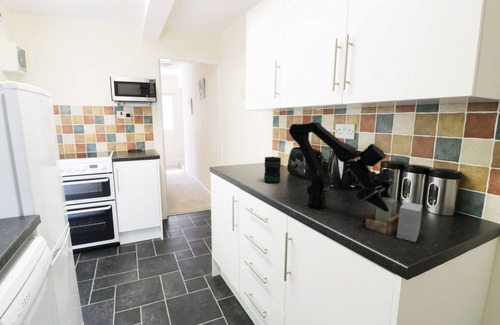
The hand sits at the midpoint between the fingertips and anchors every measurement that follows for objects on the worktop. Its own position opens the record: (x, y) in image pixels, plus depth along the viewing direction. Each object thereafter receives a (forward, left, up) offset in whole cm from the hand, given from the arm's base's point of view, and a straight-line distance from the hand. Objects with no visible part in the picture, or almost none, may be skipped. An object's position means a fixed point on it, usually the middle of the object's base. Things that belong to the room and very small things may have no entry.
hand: (390, 209), depth 92 cm
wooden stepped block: (-2, 0, -7) cm, 7 cm away
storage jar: (-74, +16, -7) cm, 76 cm away
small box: (+7, -2, -7) cm, 10 cm away
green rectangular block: (-1, 0, -7) cm, 7 cm away
